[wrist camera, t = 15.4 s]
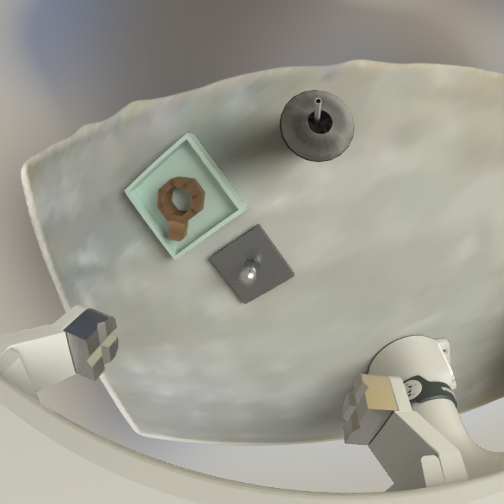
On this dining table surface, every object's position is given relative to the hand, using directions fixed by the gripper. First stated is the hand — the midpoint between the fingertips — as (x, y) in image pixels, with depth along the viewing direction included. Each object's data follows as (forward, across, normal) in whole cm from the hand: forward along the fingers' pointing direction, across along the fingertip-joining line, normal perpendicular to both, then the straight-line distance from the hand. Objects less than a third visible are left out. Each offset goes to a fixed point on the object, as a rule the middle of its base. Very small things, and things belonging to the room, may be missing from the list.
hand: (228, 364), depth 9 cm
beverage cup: (+34, -2, -9) cm, 36 cm away
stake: (+34, +3, +11) cm, 36 cm away
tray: (+34, +14, +3) cm, 37 cm away
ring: (+34, +14, +4) cm, 37 cm away
